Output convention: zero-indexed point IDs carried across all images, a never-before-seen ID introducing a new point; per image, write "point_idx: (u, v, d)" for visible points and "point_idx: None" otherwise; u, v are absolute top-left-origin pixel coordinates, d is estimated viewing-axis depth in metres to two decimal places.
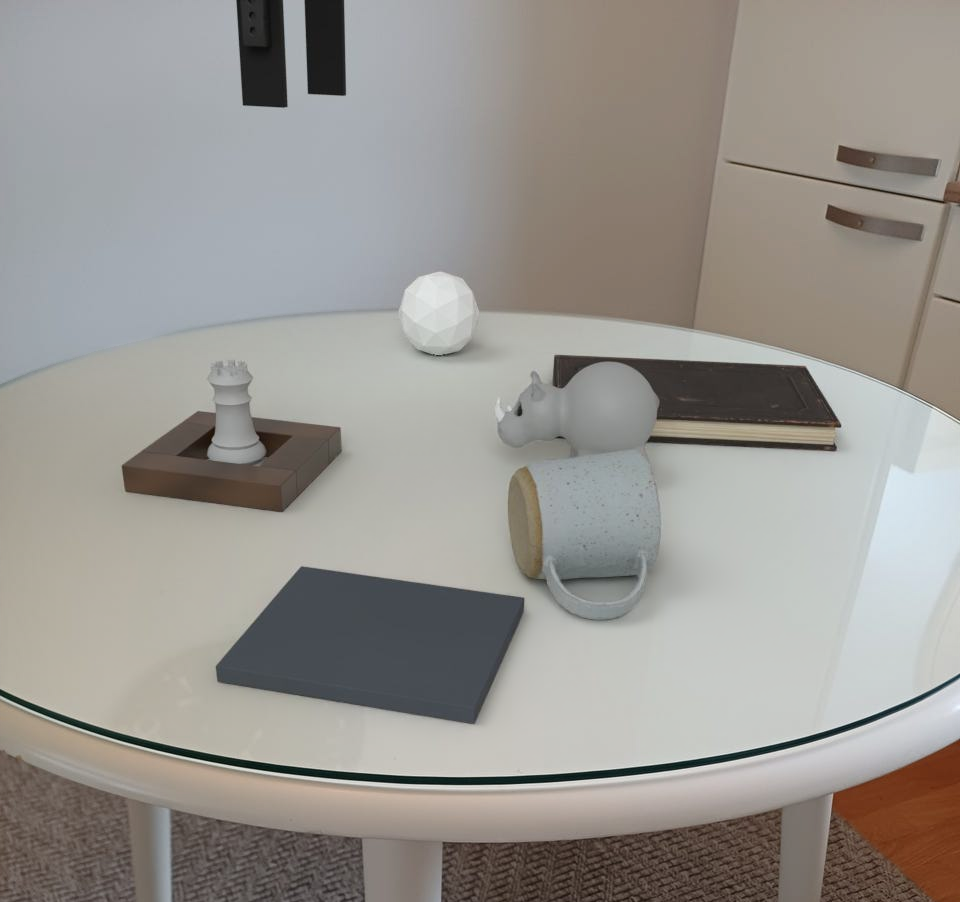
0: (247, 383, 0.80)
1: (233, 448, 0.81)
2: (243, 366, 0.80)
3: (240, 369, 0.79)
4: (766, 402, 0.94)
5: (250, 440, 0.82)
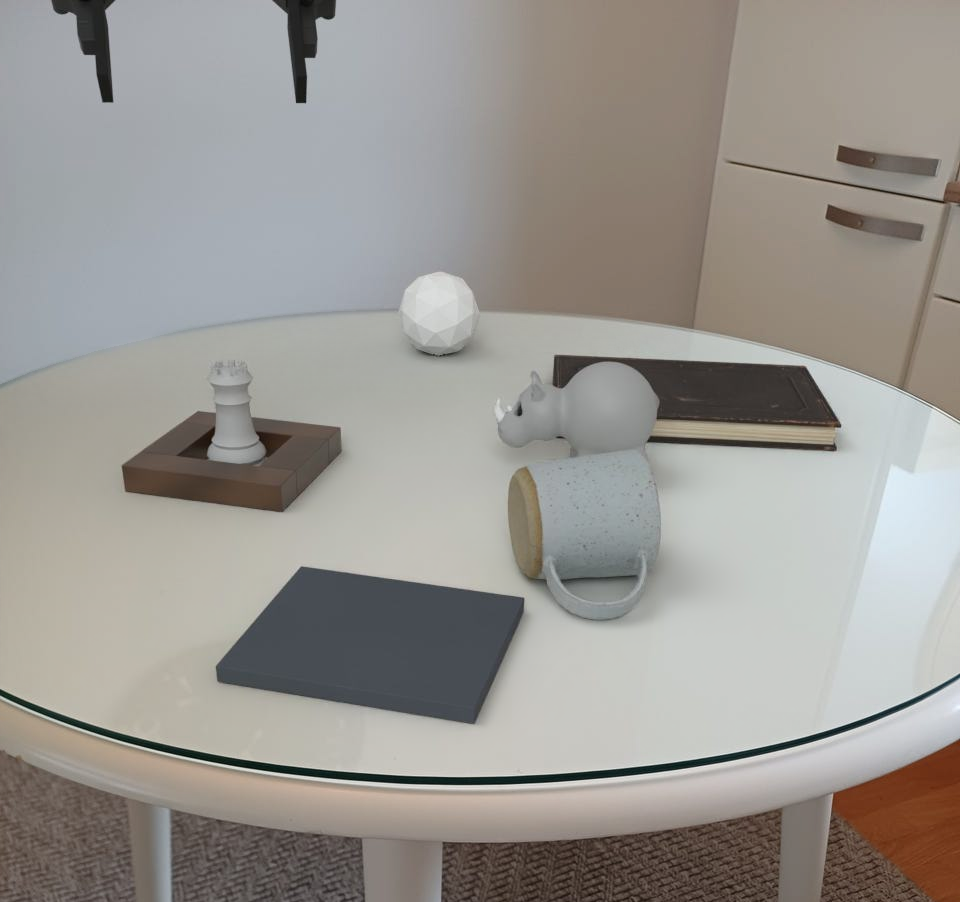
0: (247, 383, 0.80)
1: (233, 448, 0.81)
2: (243, 366, 0.80)
3: (240, 369, 0.79)
4: (766, 402, 0.94)
5: (250, 440, 0.82)
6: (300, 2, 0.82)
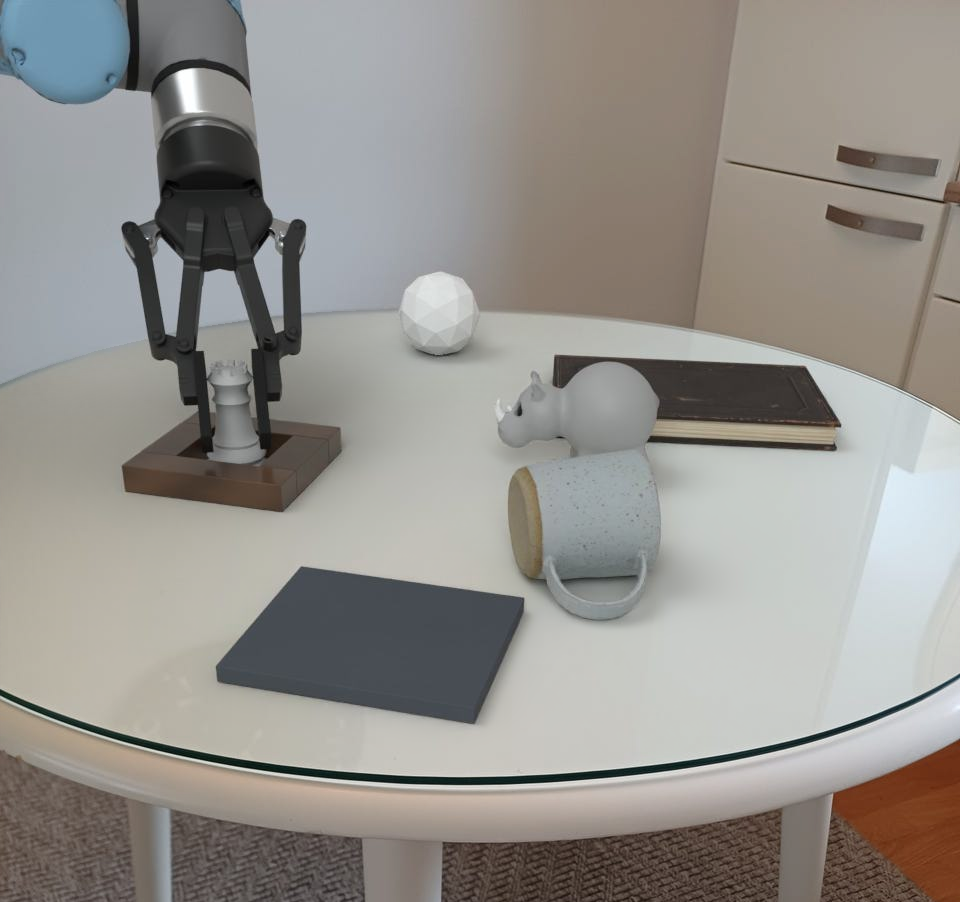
0: (247, 383, 0.80)
1: (233, 448, 0.81)
2: (243, 366, 0.80)
3: (240, 369, 0.79)
4: (766, 402, 0.94)
5: (250, 440, 0.82)
6: (261, 345, 0.80)
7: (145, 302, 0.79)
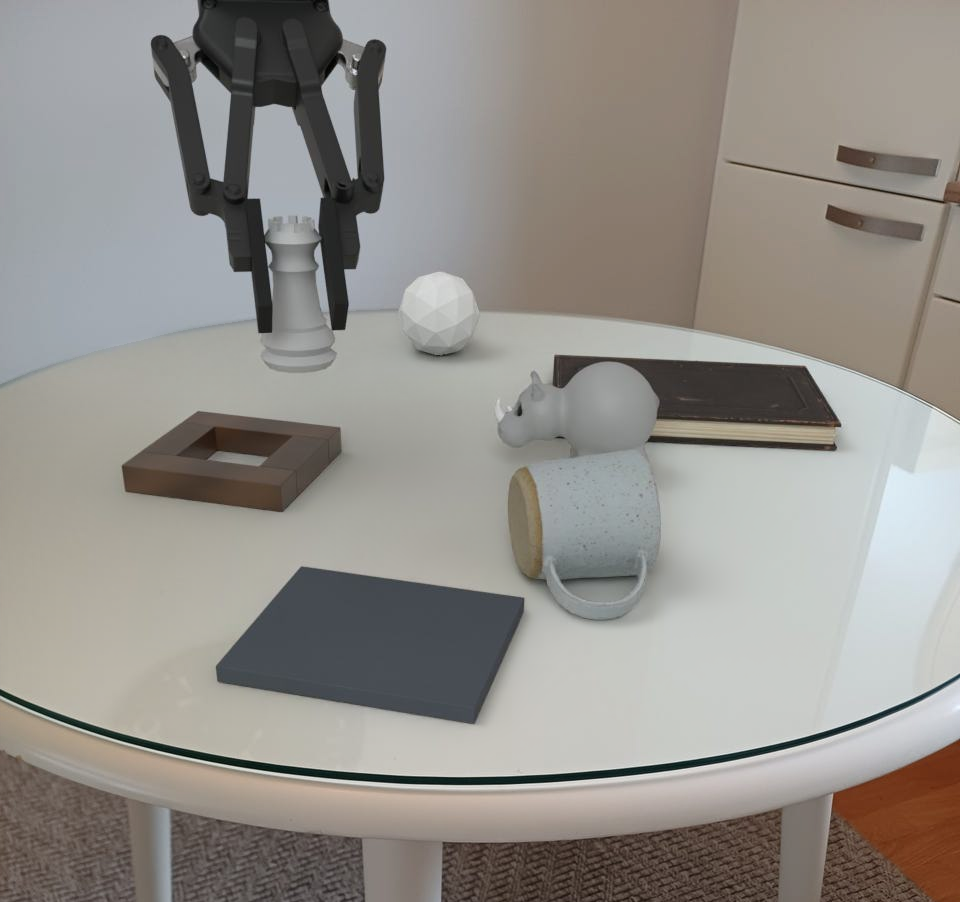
0: (315, 243, 0.62)
1: (296, 331, 0.63)
2: (310, 221, 0.62)
3: (306, 224, 0.61)
4: (766, 401, 0.94)
5: (316, 321, 0.64)
6: (333, 195, 0.62)
7: (183, 136, 0.61)
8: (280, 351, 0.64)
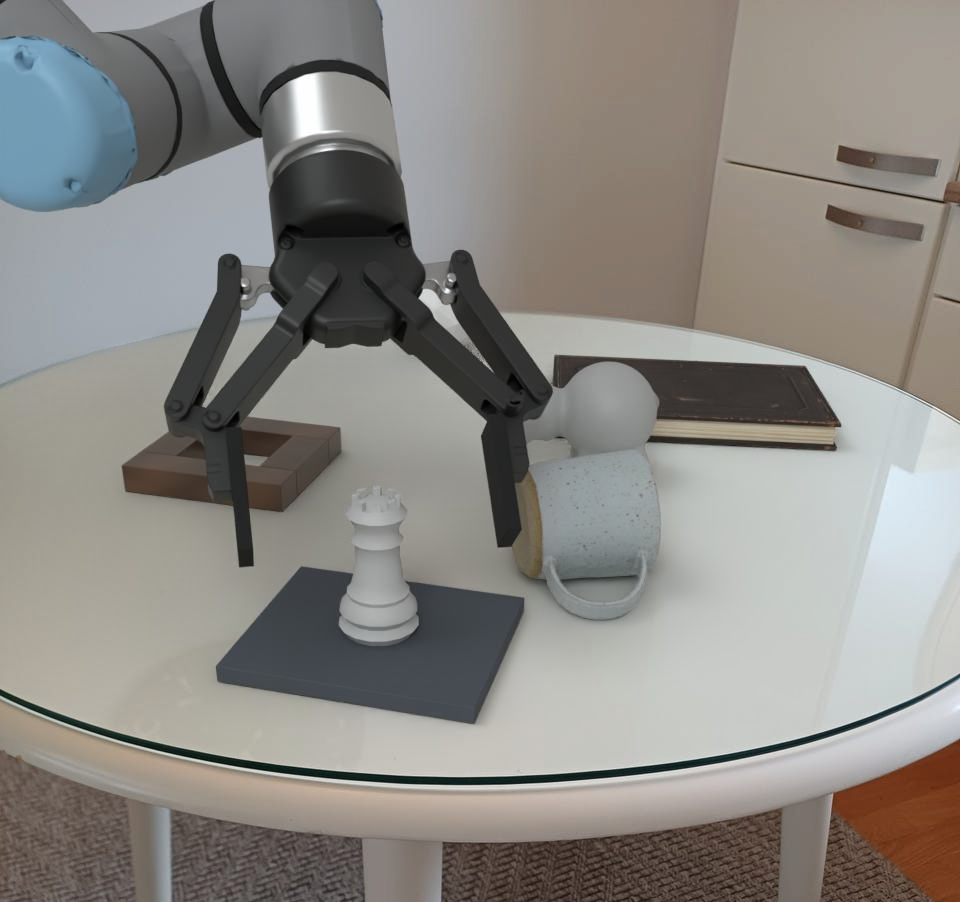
0: (401, 521, 0.58)
1: (379, 606, 0.60)
2: (396, 497, 0.58)
3: (393, 503, 0.58)
4: (766, 402, 0.94)
5: (400, 594, 0.60)
6: (505, 413, 0.60)
7: (189, 359, 0.57)
8: (362, 626, 0.60)
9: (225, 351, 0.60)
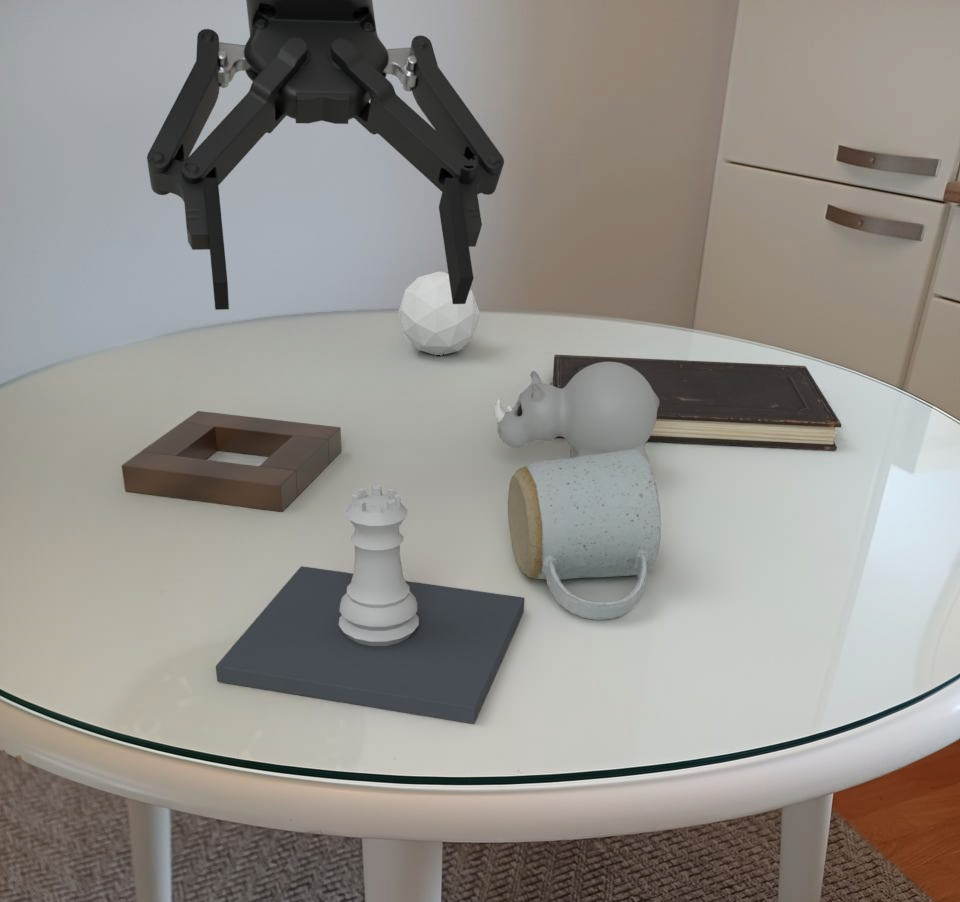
0: (401, 521, 0.58)
1: (379, 606, 0.60)
2: (396, 497, 0.58)
3: (393, 503, 0.58)
4: (766, 402, 0.94)
5: (400, 594, 0.60)
6: (460, 179, 0.65)
7: (171, 118, 0.63)
8: (362, 626, 0.60)
9: (204, 121, 0.65)
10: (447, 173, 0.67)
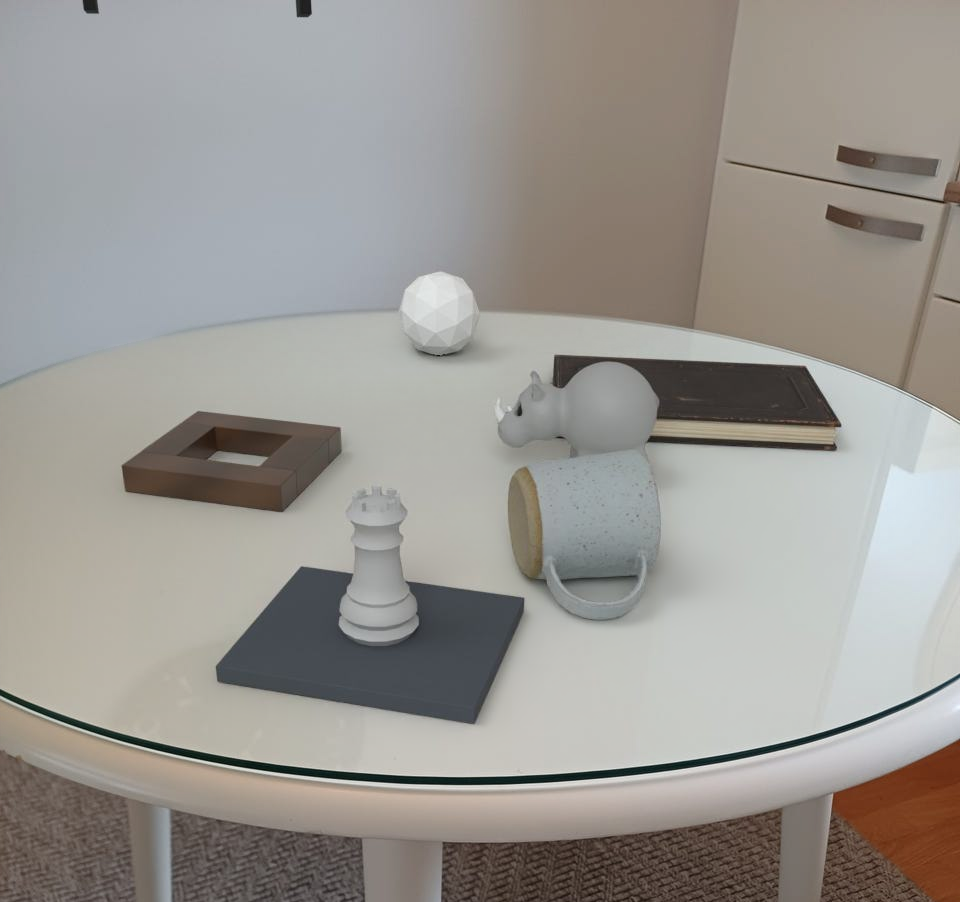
0: (401, 521, 0.58)
1: (379, 606, 0.60)
2: (396, 497, 0.58)
3: (393, 503, 0.58)
4: (766, 402, 0.94)
5: (400, 594, 0.60)
6: None
7: None
8: (362, 626, 0.60)
9: None
10: None
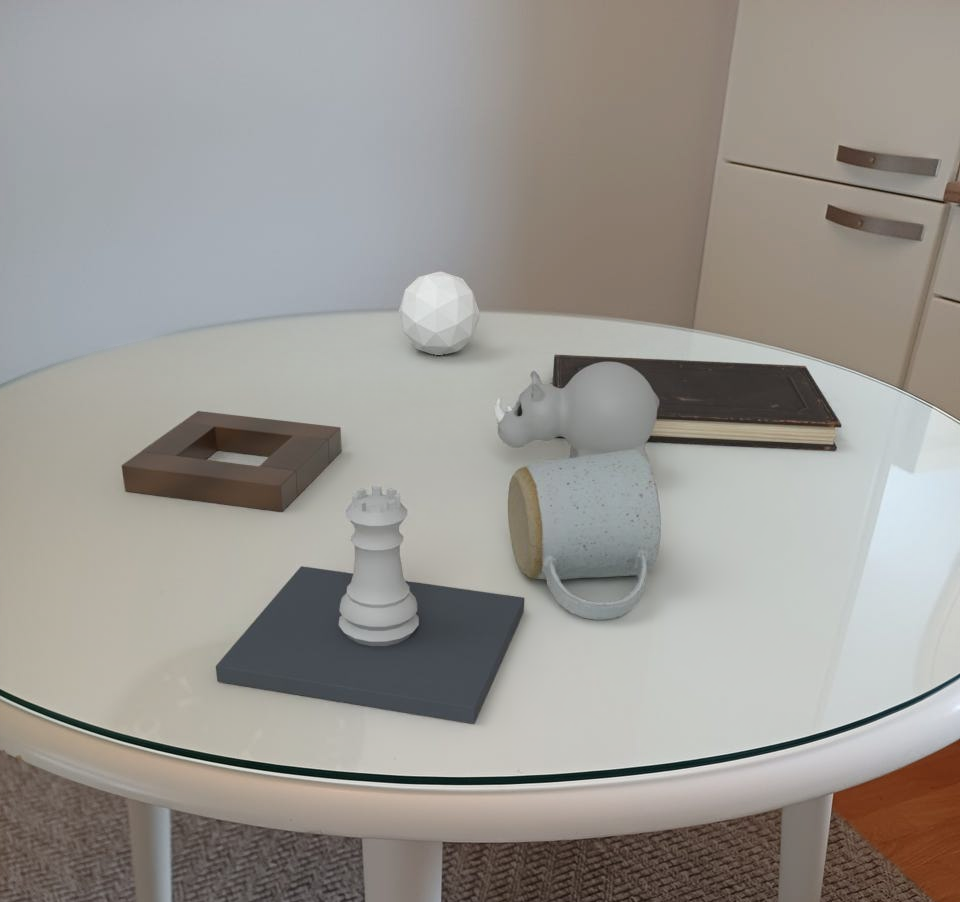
0: (401, 521, 0.58)
1: (379, 606, 0.60)
2: (396, 497, 0.58)
3: (393, 503, 0.58)
4: (766, 402, 0.94)
5: (400, 594, 0.60)
6: None
7: None
8: (362, 626, 0.60)
9: None
10: None
